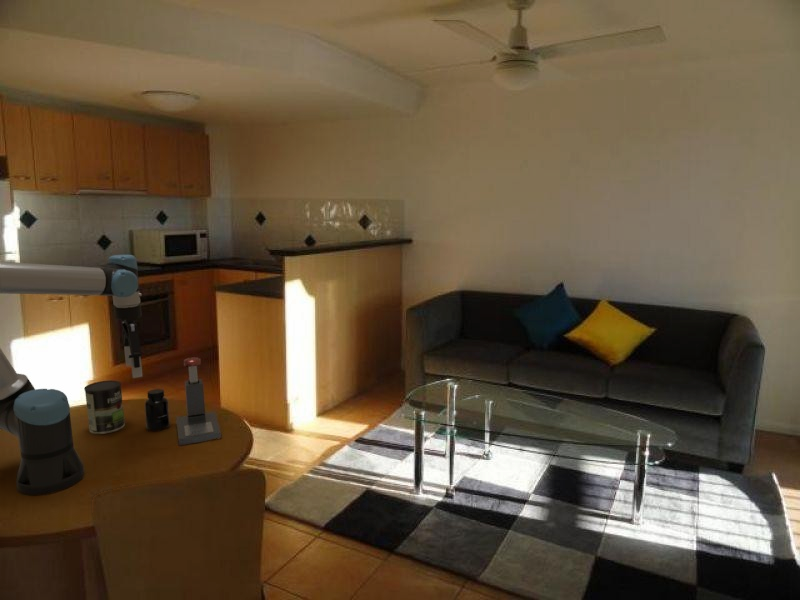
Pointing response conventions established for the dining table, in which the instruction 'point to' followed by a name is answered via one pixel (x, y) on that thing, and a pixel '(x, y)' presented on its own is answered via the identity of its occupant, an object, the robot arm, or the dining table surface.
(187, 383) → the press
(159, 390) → the supplement bottle
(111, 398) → the coffee can
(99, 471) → the dining table surface
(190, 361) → the plunger
